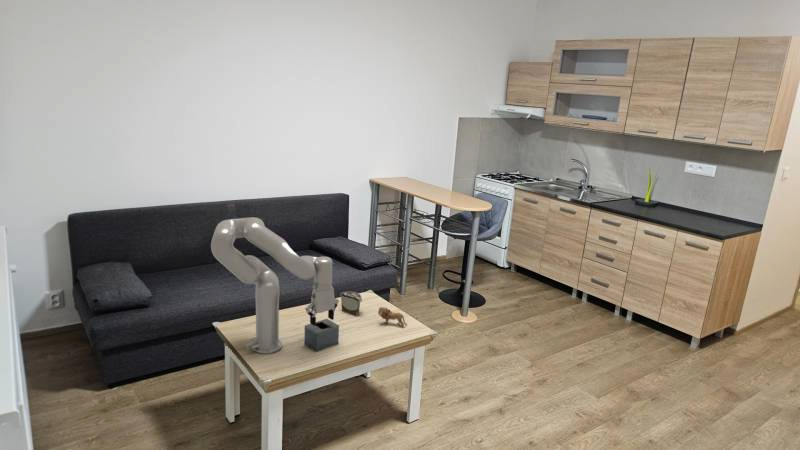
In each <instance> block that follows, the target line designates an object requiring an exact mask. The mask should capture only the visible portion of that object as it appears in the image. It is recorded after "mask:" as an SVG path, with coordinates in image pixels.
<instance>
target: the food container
mask: <svg viewBox="0 0 800 450" xmlns="http://www.w3.org/2000/svg"><path fill="white" fill-rule="evenodd" d="M339 297H340V301H341V302H340V303H341V312H342V313H344V314H348V315H350V316H354V317H356V318H357V317H358V316H359V314H360V313H359V312H360V306H361V302H362V301H363V300H362V299H363V298H362V296H361V294H360V293H359V292H356V291H343V292H340V295H339Z"/></svg>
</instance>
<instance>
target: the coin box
mask: <svg viewBox="0 0 800 450" xmlns="http://www.w3.org/2000/svg"><path fill="white" fill-rule="evenodd" d="M339 332H340V325H339V324H337V323H335V322H334V321H333V320H331V319H329V318H325V319H321V320H317V321H316V325H315V326H314V325H312V324H311V323H308V324H306V325H304V338H303V339H304V343H303V344H304V345H305V346H306V347H308V348H310V349H311V350H313V351H314V352H315V353H317V352H321V351H323V350H325V349H328V348H331V347H334V346H336V345H339V340H340V339H339V336H340V335H339Z"/></svg>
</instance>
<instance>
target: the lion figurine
mask: <svg viewBox="0 0 800 450" xmlns="http://www.w3.org/2000/svg"><path fill="white" fill-rule="evenodd" d="M377 314H378V315H379V316H380V317H381V318H382V319H383V320H385V321H384V323H385V324H384V325H385V326H388V325H389V320H391V321H392V320H394V321H395V320H397V322H396V324H397V325H401V326H400V327H401V329H402V328H404V327H405V326H408V324H407V323H406V321H405V318H404V315H403V314H402V313H400V312H393V311H391V310H390V309H388V308H387V307H384V306H380V307H378V312H377Z"/></svg>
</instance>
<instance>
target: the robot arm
mask: <svg viewBox="0 0 800 450" xmlns="http://www.w3.org/2000/svg"><path fill="white" fill-rule="evenodd" d="M214 229H215V230H214V231H213V232H214V233H213V235H212V238H211V242H210V249H211V253H212V255H213V257H214V258H215V260H217V262H219V263H220V264H221V265H223V266H224V267H225V268H226V269H227V270H228V272H230V273H231V274H233V276H235V277H236V278H237V279H238V280H239V281H241V282H242V283H243V284H246V285H252V284H253V285H255V337H254V338H253V341H251V342H248V343H245V348H246V349H250V348H251V350H253V351H254V352H255V353H258V354H263V355H264V354H267V355H268V354H274V353H277V352H279V351H280V350H281V349H282V348H283V342H282V341H281V340H280V339H279V335H280V332H279V331H280V329H279V327H280V326H279V325H280V320H279V319H280V285H279V284H280V282H279V278H278V275H276V273H275V272H274V271H273V270H272V269H270V268H269V267H268V266H267V264H265V263H264V262H263V261H262V260H261V259H259V258H258V257H256V256H255V255H250V254H249V255H244V253H243V252H241V250H238V249H237V248H236V247H234V243H235V241H236V239H242V238H245V239H246V240H247V242H250V244H253V245H254V246H255V247H257V248H259V249H260V250H262V251H263V252H265V253H266V254H268V255H269V256H271V257H272V258H273V259H274V260H275V261H276V262H278V264H280V265H281V266H282V267H283V268H284V269H285V270H287V272H290V273H291V274H293V275H294V276H296V277H298V278H299V279H301V280H303V281H304V280H305V281H308V280H311V279H312V278H314V279H313V280H314V282H313V283H314V284H313V285H312V291H311V292H312V293H311V298H310V299H311V300H310V304H309V305H307V306H306V307H305V308H304V309H305V312H306V314H307V315H308V316H309V324H312V325H314V326H315V325H316V322H317V317H316V315H317V314H319V313H324V312H326V311H327V316H328V318H327V319H329V320H330V321H334V319H335V318H334V317H335V311H336V308H338V304H339V302H340V300H339V299H338V298H335V288H334V287H333V260H332V258H331V257H329V256H319V257H318V256H311V255H301V256H300V255H298V254H297V253H296V252H295V251H294V250H293V249H292V248H291V246H290V245H289V244H288V242H287V241H286V240H285V239H284V238H282V237H281V236H280V235H278V234H276V233H275V232H273V231H272V230H270V229H269V228H268V227H266V225H265V223H264V221H263V220H262V219H261V218H258V217H254V216H253V217H251V216H250V217H242V218H241V217H240V218H231V219H230V218H229V219H225V220H222V221H220V222H218V224H217V225H216V227H215V228H214Z"/></svg>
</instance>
